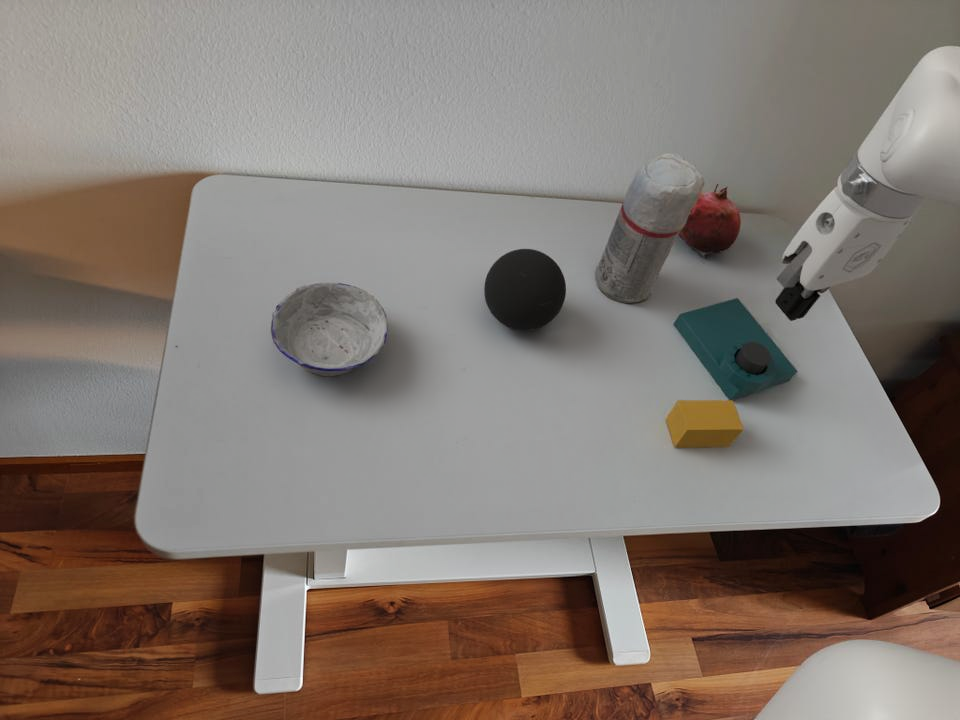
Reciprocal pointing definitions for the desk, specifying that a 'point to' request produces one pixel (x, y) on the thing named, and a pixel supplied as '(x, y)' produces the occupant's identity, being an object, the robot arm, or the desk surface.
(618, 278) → the spray can
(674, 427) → the sponge
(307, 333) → the bowl
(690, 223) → the fruit
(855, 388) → the desk surface
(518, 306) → the speaker
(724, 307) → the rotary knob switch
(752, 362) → the dark gray cylinder
